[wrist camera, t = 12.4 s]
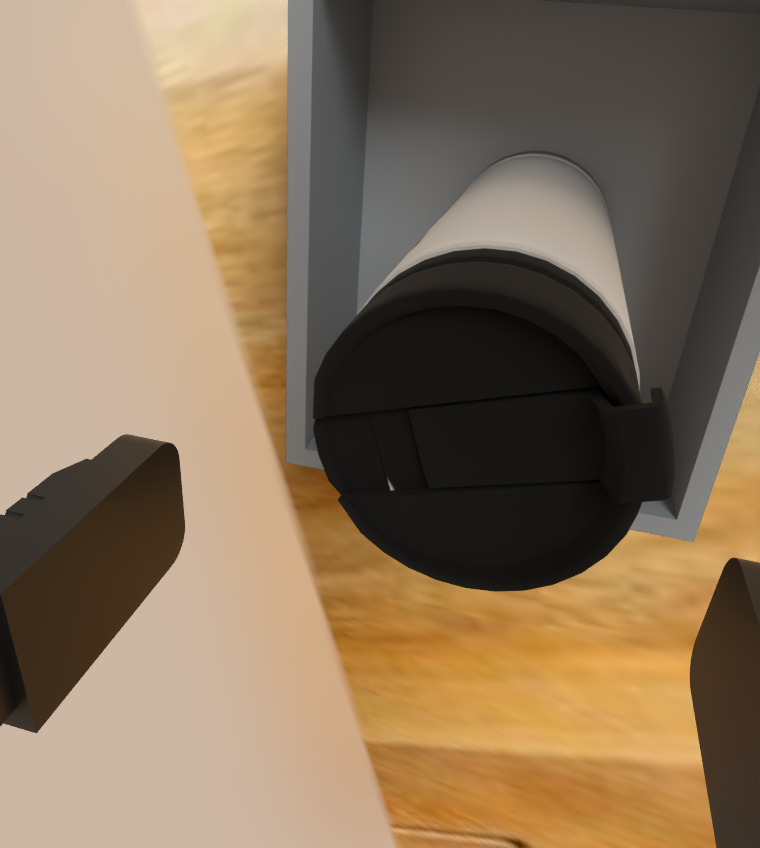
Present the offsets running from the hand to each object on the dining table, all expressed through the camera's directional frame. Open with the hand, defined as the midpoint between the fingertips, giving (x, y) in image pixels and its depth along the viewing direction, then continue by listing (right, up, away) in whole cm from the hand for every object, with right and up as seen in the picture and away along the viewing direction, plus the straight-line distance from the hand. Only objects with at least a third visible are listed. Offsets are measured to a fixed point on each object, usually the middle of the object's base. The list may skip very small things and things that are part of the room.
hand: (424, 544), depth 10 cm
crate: (+6, +10, +20) cm, 23 cm away
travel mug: (+6, +10, +19) cm, 22 cm away
